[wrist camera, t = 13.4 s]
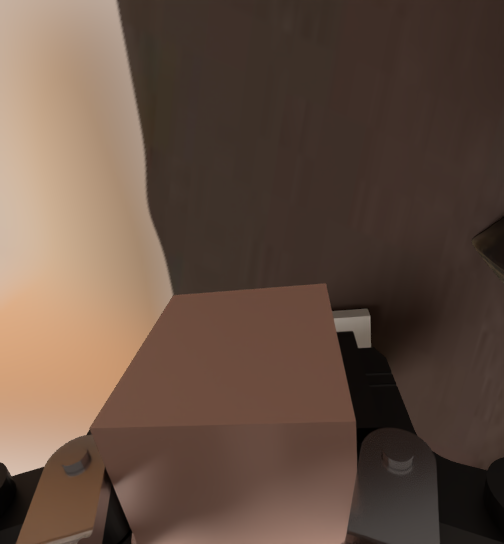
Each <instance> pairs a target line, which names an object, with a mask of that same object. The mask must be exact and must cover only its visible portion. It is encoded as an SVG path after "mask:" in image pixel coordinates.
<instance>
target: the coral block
mask: <svg viewBox="0 0 504 544" xmlns="http://www.w3.org/2000/svg"><path fill="white" fill-rule="evenodd" d="M90 431H91V433H92V436H93V438H94V441H95V443H96V445H97V448H98V450H99V453H100V455H101V458H102V460H103V462H104V465H105V467H106V470H107V472H108V475H109V477H110V479H111V482H112V484H113V487H114V489H115V492H116V494H117V496H118V499H119V501H120V504H121V506H122V509H123V511H124V513H125V516H126V518H127V521H128V523H129V526H130V528H131V530H132V533H133V535H134V538H135V540H136V542H137V544H341V543H342V542H343V543H344V541H345V538H346V533H347V527H348V521H349V516H350V510H351V504H352V498H353V492H354V486H355V480H356V474H357V441H356V419H355V415H354V410H353V405H352V401H351V396H350V392H349V387H348V382H347V378H346V373H345V369H344V364H343V360H342V355H341V350H340V346H339V341H338V337H337V332H336V327H335V323H334V318H333V314H332V309H331V305H330V300H329V295H328V291H327V286H326V283H325V284H313V285H300V286H287V287H274V288H261V289H248V290H236V291H223V292H210V293H197V294H184V295H173V297H172V298H171V300H170V302H169V303H168V305H167V306H166V308H165V309H164V311H163V313H162V314H161V316H160V317H159V319H158V321H157V322H156V324H155V325H154V327H153V329H152V330H151V332H150V333H149V335H148V336H147V338H146V340H145V341H144V343H143V344H142V346H141V347H140V349H139V351H138V352H137V354H136V356H135V357H134V359H133V360H132V362H131V363H130V365H129V367H128V368H127V370H126V371H125V373H124V374H123V376H122V378H121V379H120V381H119V383H118V384H117V385H116V387H115V389H114V391H113V392H112V393H111V395H110V397H109V398H108V400H107V401H106V403H105V405H104V406H103V408H102V409H101V411H100V412H99V414H98V416H97V417H96V419H95V420H94V422H93V424H92V425H91V427H90Z"/></svg>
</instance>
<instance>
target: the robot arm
mask: <svg viewBox="0 0 504 544" xmlns="http://www.w3.org/2000/svg"><path fill="white" fill-rule="evenodd" d="M337 337H338V341H339V346H340V350H341V355H342V360H343V364H344V369H345V373H346V378H347V382H348V387H349V392H350V396H351V401H352V405H353V410H354V415H355V419H356V441H357V474H356V480H355V486H354V492H353V498H352V504H351V510H350V516H349V521H348V527H347V533H346V538H345V541H344V543H343V542H342V543H341V544H504V457H503V458H500V459H498V460H496V461H494V462H493V463H492V464H491V465H490V466H489V469H488V471H487V470H483V469H479V468H475V467H471V466H467V465H463V464H459V463H456V462H453V461H450V460H448V459H445V458H443V457H441V456H439V455H438V454H436V453H434V452H433V451H432V450H431V448H430V447H429V446H428V445H427V443H426V442H424V441H423V440H422V439H421V438H420V437H418V436H417V434H416V432H415V430H414V428H413V425H412V423H411V420H410V418H409V415H408V413H407V410H406V407H405V405H404V402H403V400H402V397H401V395H400V392H399V390H398V387H397V386H396V382H395V380H394V377H393V375H392V373H391V370H390V367H389V365H388V362H387V359H386V358H385V357H384V356H383V355H382V354H381V353H380V352H379V351H377V350H376V349H375V348H374V347H369V348H358V346H357V342H356V339H355V335H354V332H353V331H342V332H337ZM0 544H137V542H136V540H135V538H134V535H133V533H132V530H131V528H130V526H129V523H128V521H127V518H126V516H125V513H124V511H123V509H122V506H121V504H120V501H119V499H118V496H117V494H116V492H115V489H114V487H113V484H112V482H111V479H110V477H109V475H108V472H107V470H106V467H105V465H104V462H103V460H102V458H101V455H100V453H99V450H98V448H97V445H96V443H95V441H94V438H93V436H92V433H91V431H90V430H89V432H88V433H87V435H85V436H81V437H78V438H76V439H74V440H71V441H69V442H68V443H66V444H65V445H64V446H62V447H60V448H59V449H58V450H57V451H56V452H55V453H54V454H53V455H52V456H51V457H50V459H49V460H48V461H47V463H46V465H45V467H42V468H39V469H35V470H32V471H29V472H25V473H22V474H18V475H15V476H11V475H10V473H9V471H8V470H7V468H6V466H5V465H4V464H3V463H0Z"/></svg>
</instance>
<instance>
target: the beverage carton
mask: <svg viewBox="0 0 504 544" xmlns="http://www.w3.org/2000/svg"><path fill="white" fill-rule="evenodd" d="M472 244H473V246H474V247H475V249H476V250H477V251H478V253H479V254H480V255H481V257H482V258H483V259H484V261H485V262H486V263H487V264H488V265H489V267H490V268H491V269H492V270H493V271H494V273H495V274H496V275H497V276H498V277H499V278H500V280H501V281H502V282H503V283H504V218H502V219H501V220H500V221H498V222H496V223H495V224H493V225H492V226H491V227H489V228H488V229H487V230H485V231H484V232H482V233H480V234H479V235H477V236H476V237H474V238H473V239H472Z"/></svg>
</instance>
